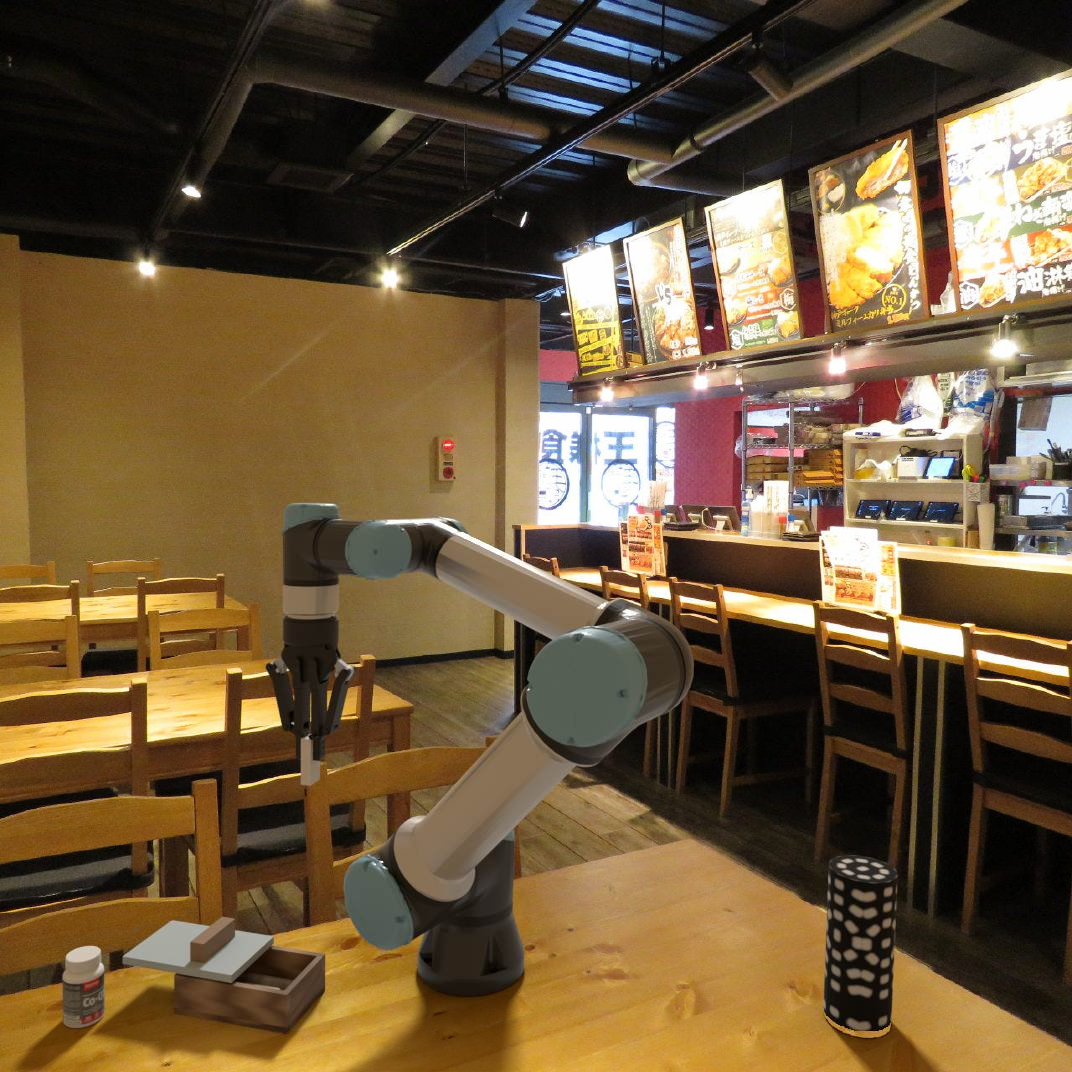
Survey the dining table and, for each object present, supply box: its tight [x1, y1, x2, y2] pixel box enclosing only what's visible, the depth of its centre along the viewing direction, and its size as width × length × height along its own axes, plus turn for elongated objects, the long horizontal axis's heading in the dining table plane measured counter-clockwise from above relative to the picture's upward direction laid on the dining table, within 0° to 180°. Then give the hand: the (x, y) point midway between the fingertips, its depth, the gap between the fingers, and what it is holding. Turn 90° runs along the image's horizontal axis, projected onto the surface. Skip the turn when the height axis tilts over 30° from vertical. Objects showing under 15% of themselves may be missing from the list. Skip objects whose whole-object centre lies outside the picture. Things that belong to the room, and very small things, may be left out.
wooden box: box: [173, 944, 326, 1035], centre depth 117 cm, size 16×10×5 cm, turn 76°
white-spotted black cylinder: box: [822, 854, 899, 1031], centre depth 115 cm, size 8×8×20 cm
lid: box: [122, 916, 275, 983], centre depth 118 cm, size 16×10×4 cm, turn 76°
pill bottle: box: [62, 945, 106, 1029], centre depth 112 cm, size 5×5×8 cm
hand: (310, 781), depth 124 cm, fingers closed
